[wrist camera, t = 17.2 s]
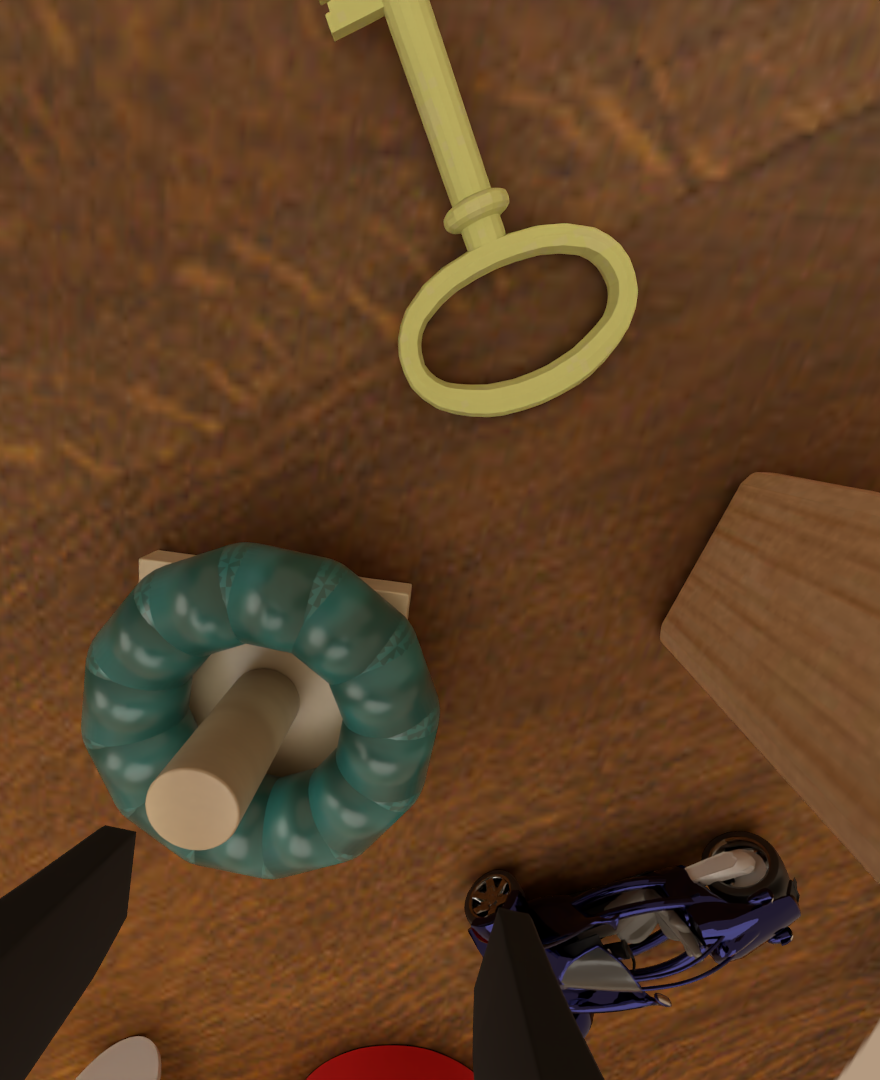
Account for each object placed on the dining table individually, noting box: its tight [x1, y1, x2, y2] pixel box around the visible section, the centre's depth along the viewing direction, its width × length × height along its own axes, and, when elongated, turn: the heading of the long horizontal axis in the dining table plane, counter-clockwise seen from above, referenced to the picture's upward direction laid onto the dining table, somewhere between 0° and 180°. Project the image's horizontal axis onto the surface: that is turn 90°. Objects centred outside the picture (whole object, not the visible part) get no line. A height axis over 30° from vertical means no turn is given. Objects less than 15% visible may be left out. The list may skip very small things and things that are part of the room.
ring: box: [81, 542, 440, 879], centre depth 18 cm, size 11×11×3 cm
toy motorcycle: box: [465, 831, 801, 1038], centre depth 20 cm, size 12×6×4 cm, turn 119°
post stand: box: [139, 550, 412, 850], centre depth 17 cm, size 9×9×7 cm
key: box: [319, 0, 638, 417], centre depth 16 cm, size 7×12×2 cm, turn 40°
